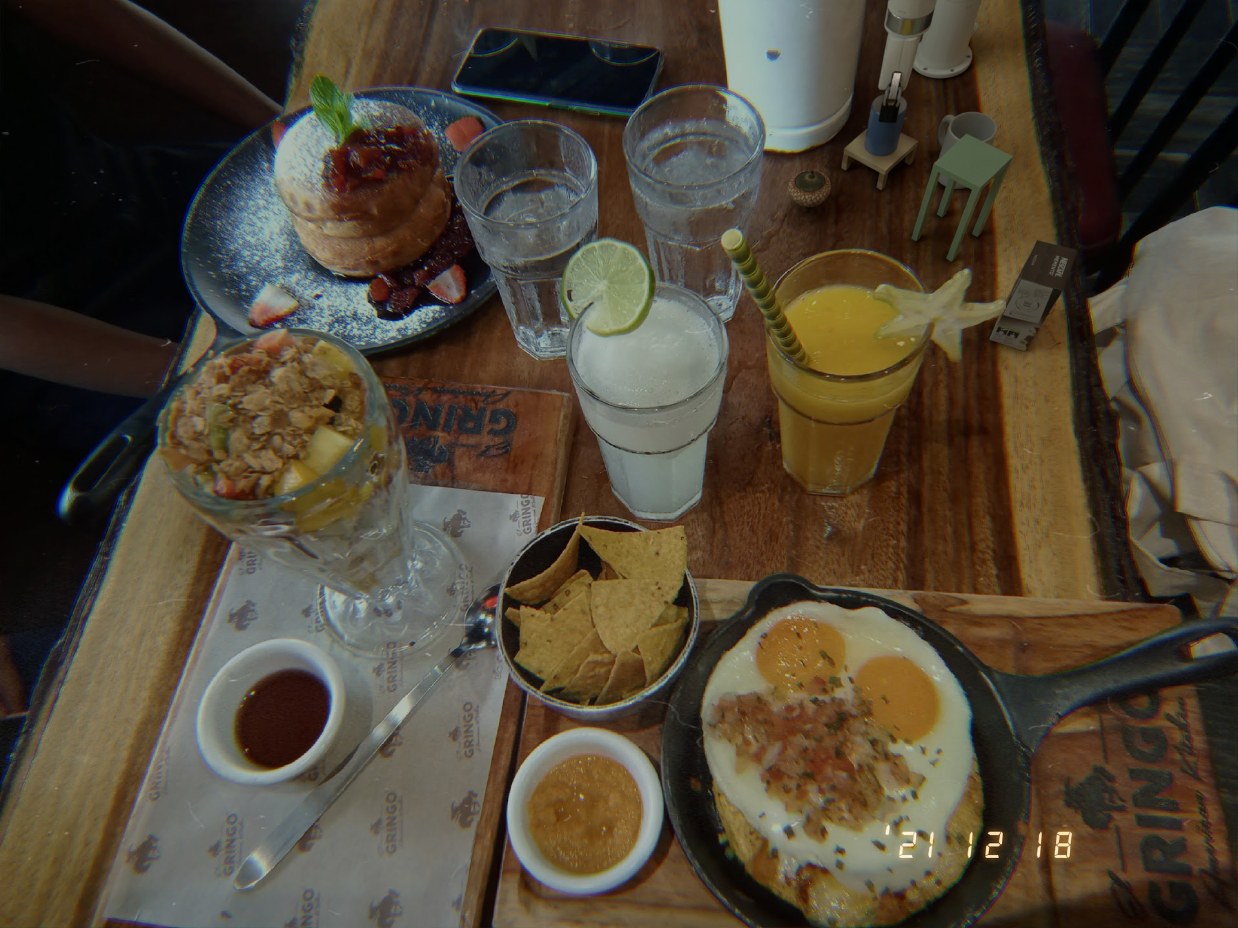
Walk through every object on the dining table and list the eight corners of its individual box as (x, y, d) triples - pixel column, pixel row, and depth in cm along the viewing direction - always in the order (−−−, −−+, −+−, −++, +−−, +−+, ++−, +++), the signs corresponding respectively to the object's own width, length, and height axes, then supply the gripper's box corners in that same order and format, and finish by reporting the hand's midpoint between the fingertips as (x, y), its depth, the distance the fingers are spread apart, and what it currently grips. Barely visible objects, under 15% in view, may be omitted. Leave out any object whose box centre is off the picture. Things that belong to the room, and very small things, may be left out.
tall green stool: (940, 211, 142) (966, 133, 126) (981, 233, 138) (1013, 156, 122) (911, 238, 140) (933, 163, 124) (951, 262, 136) (980, 187, 120)
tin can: (877, 129, 147) (886, 88, 139) (904, 142, 144) (914, 102, 136) (857, 147, 145) (864, 107, 137) (883, 161, 143) (892, 121, 135)
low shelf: (872, 140, 152) (876, 120, 148) (912, 161, 148) (918, 141, 144) (841, 168, 150) (844, 148, 146) (881, 190, 146) (885, 170, 142)
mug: (989, 178, 144) (1007, 131, 134) (951, 195, 143) (967, 150, 133) (952, 142, 149) (967, 94, 139) (915, 158, 149) (928, 112, 139)
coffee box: (1026, 352, 126) (1063, 292, 112) (987, 340, 128) (1019, 279, 114) (1042, 313, 129) (1080, 249, 114) (1004, 301, 131) (1037, 237, 117)
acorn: (797, 231, 145) (801, 192, 136) (778, 204, 148) (781, 164, 140) (835, 215, 145) (842, 176, 136) (815, 189, 149) (820, 149, 140)
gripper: (893, -19, 126) (877, 69, 141) (878, 49, 120) (863, 135, 135) (939, -18, 124) (918, 72, 139) (926, 52, 118) (905, 138, 133)
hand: (891, 103), depth 137 cm, fingers open, 9 cm apart
